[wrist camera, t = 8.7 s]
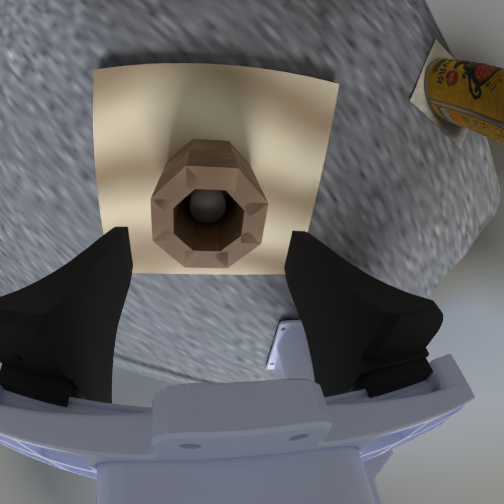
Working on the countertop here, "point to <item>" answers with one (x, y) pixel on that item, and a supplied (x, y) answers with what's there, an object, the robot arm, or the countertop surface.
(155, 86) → the post board
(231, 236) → the collar
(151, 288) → the countertop surface
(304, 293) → the robot arm
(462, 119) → the condiment
